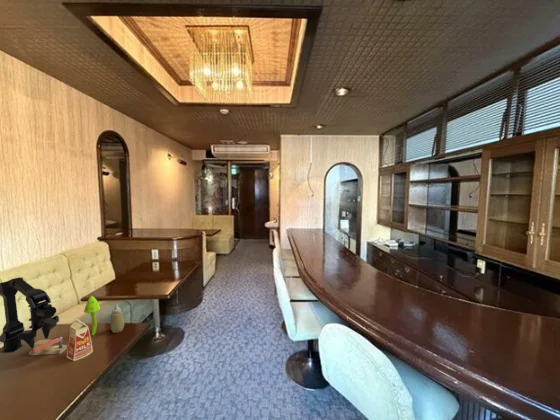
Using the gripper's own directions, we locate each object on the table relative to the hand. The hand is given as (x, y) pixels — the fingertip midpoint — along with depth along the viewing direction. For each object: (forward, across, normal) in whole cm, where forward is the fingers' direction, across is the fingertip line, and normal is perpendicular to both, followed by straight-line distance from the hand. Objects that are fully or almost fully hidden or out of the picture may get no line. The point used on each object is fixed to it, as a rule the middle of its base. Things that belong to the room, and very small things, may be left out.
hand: (39, 343), depth 142 cm
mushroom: (+8, +22, -14) cm, 28 cm away
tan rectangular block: (+6, +5, +3) cm, 8 cm away
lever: (+2, 0, -4) cm, 5 cm away
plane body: (+8, +5, 0) cm, 9 cm away
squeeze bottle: (+8, +25, -27) cm, 38 cm away
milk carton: (+8, 0, -20) cm, 22 cm away
